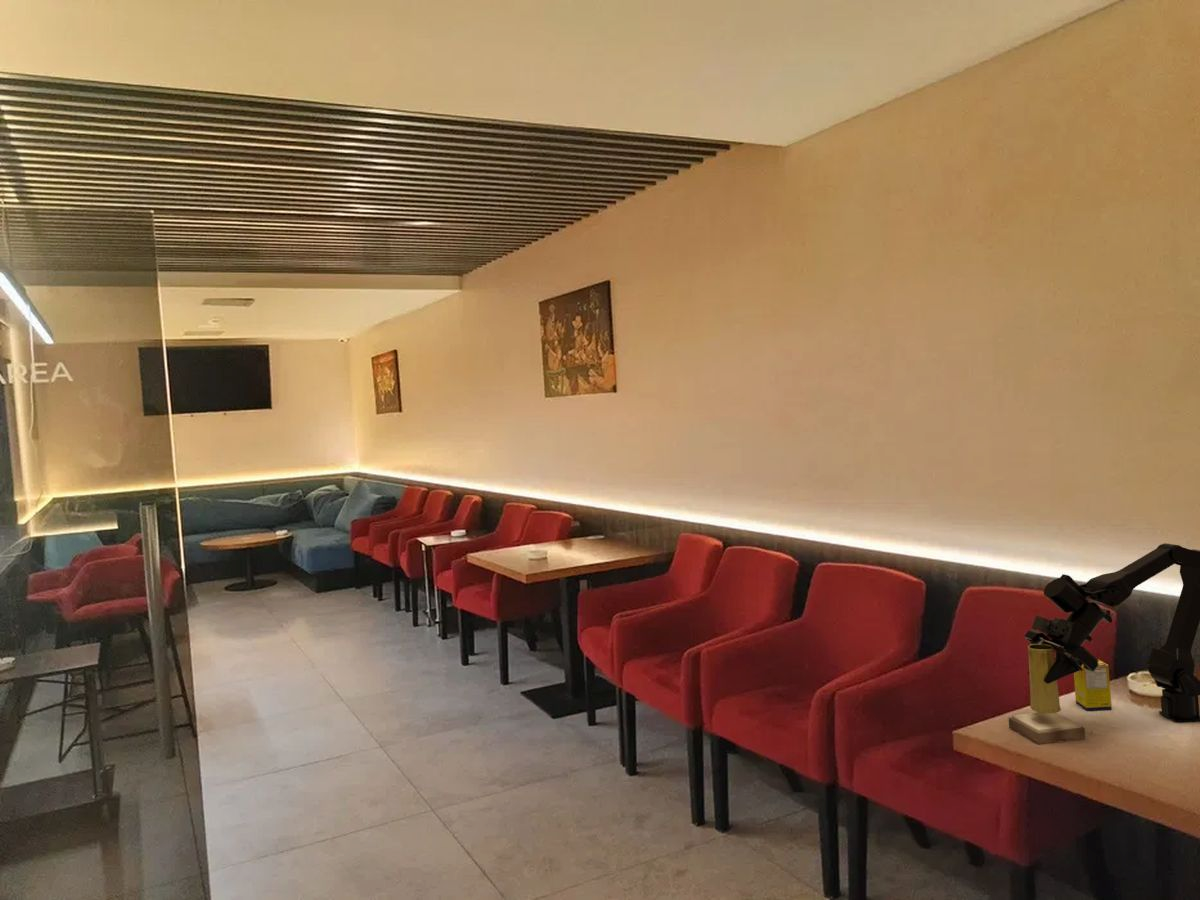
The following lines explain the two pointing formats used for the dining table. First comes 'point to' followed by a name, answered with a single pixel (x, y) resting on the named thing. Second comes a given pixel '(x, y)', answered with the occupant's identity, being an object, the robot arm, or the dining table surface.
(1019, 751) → the dining table surface
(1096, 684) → the supplement box
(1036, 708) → the vase
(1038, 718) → the stand
